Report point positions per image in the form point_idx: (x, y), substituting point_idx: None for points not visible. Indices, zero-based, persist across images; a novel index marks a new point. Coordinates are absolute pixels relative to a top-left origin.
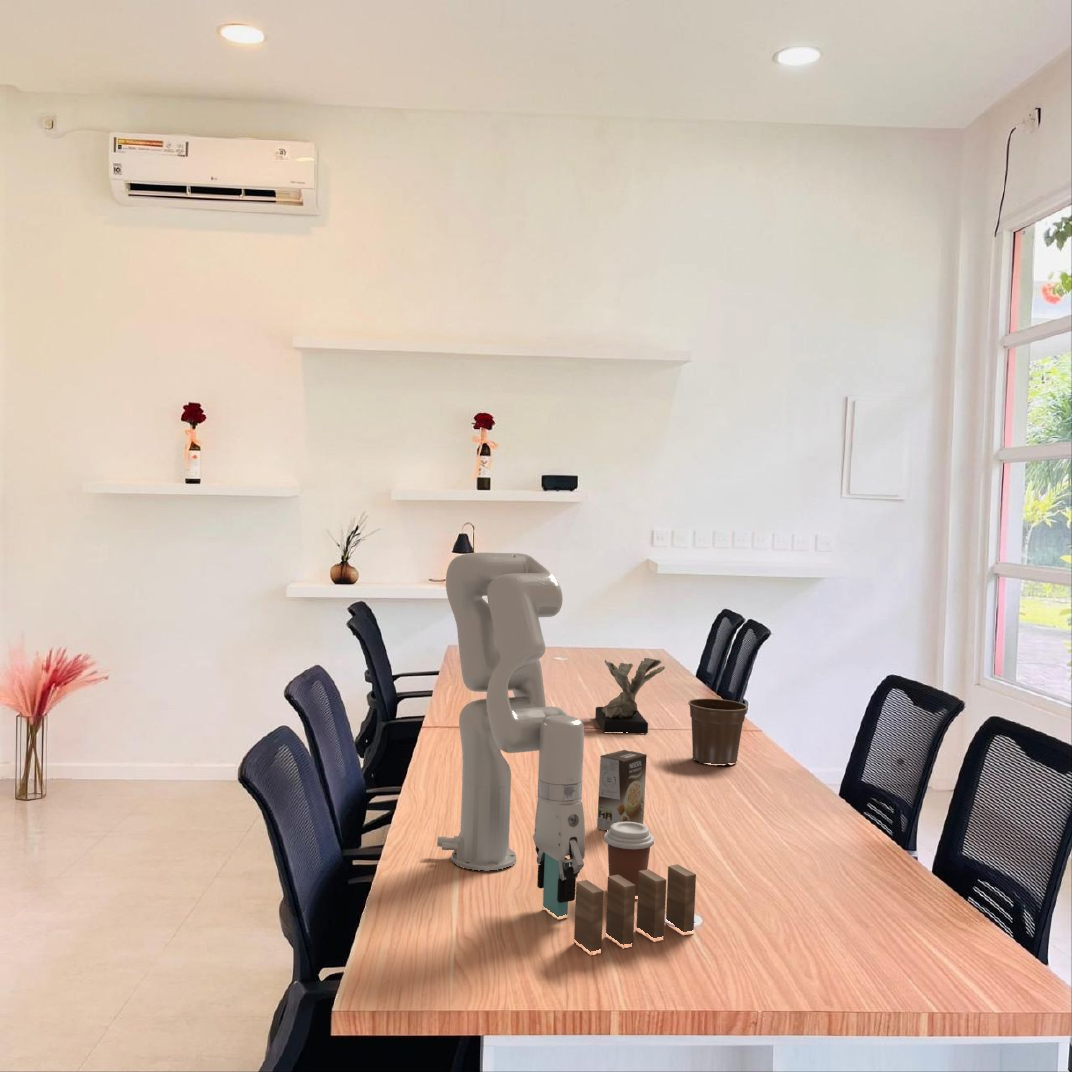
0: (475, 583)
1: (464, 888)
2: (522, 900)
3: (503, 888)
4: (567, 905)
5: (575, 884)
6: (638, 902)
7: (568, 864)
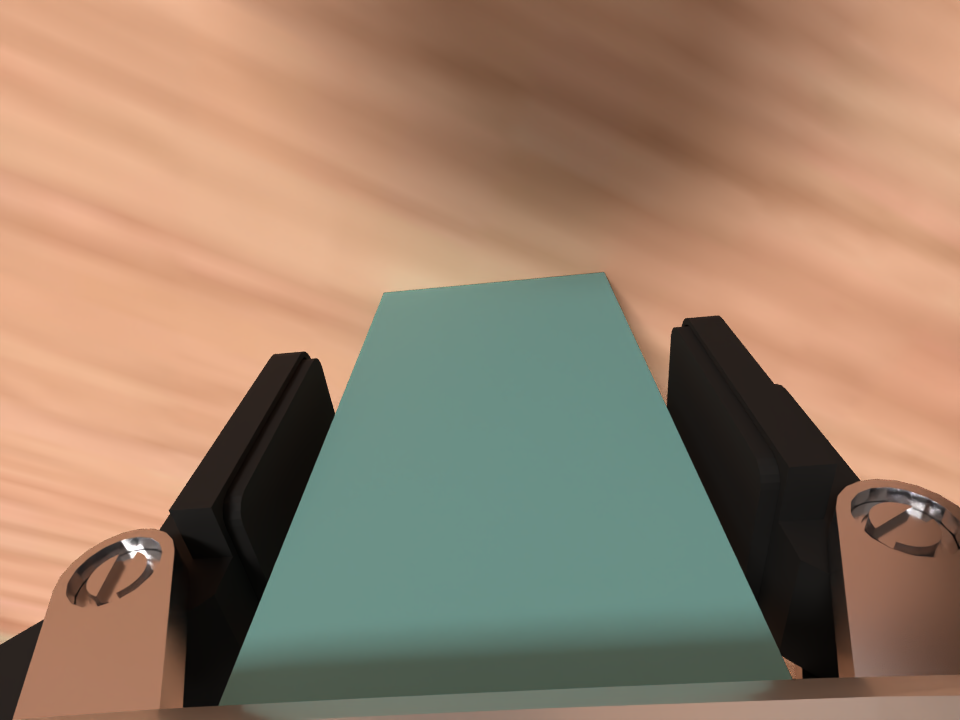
0: None
1: (29, 620)
2: (223, 427)
3: (10, 462)
4: (622, 318)
5: (783, 397)
6: None
7: (779, 678)
